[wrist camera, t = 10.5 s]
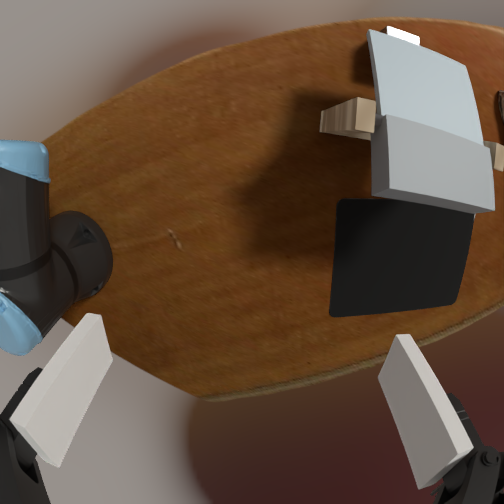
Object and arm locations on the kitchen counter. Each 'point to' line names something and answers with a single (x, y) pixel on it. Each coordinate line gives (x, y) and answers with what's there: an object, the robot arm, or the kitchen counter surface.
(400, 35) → the block
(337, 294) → the tablet
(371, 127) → the frame
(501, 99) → the stone
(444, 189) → the trapdoor
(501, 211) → the kitchen counter surface
